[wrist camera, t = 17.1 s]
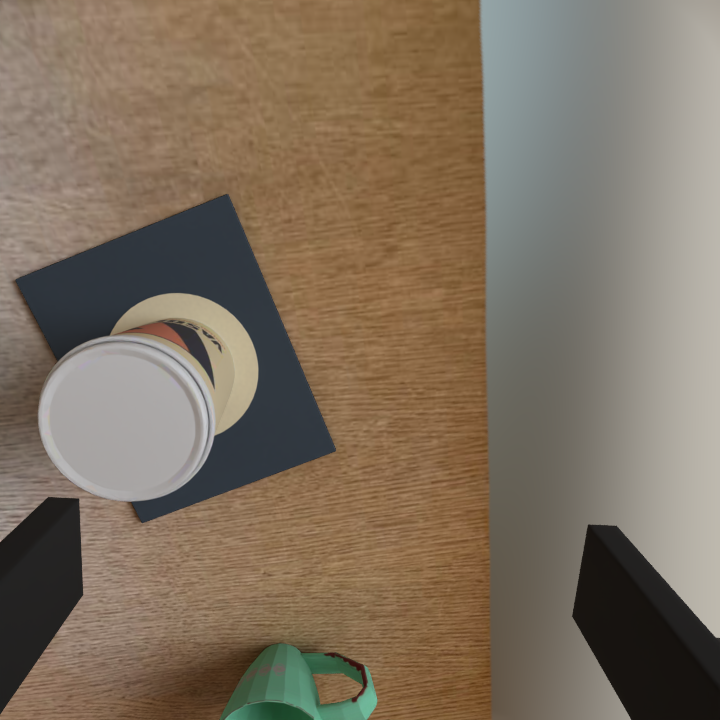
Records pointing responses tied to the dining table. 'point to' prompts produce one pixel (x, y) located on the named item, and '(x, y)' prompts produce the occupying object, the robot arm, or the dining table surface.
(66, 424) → the coffee cup
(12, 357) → the dining table surface
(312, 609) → the dining table surface
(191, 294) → the place mat
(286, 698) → the mug
